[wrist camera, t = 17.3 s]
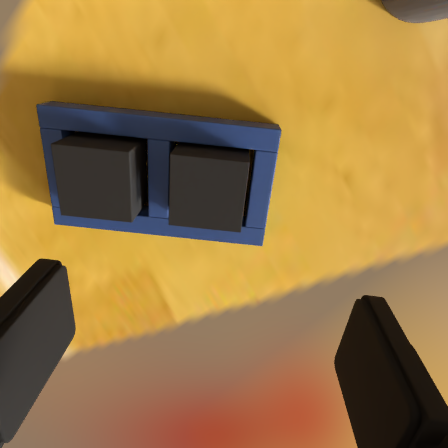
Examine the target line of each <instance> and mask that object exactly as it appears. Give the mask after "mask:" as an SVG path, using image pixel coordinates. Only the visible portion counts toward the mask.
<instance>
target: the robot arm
mask: <svg viewBox="0 0 448 448" xmlns="http://www.w3.org/2000/svg"><path fill="white" fill-rule="evenodd" d="M75 329H76V328H75V320H74V314H73V307H72V301H71V294H70V288H69V281H68V275H67V269H66V267H65V266H62V264H61V262H60V261H58V260H50V259H39V260H37V261H36V262H35V263H34V264H33V265H32V266H31V267H30V268H29V269H28V270H27V271H26V272H25V273H24V274H23V275H22V276H21V277H20V278H19V279H18V280H17V281H16V282H15V283H14V284H13V285H12V286H11V287H10V288H9V289H8V290H7V291H6V292H5V293H4V294H3V295H2V296H1V297H0V448H2V446H3V444H4V443H8V442H10V441H11V440H12V439H13V437H14V435H15V434H16V432H17V431H18V429H19V427H20V426H21V424H22V422H23V420H24V419H25V417H26V416H27V414H28V412H29V411H30V409H31V407H32V406H33V404H34V402H35V401H36V399H37V397H38V396H39V394H40V392H41V391H42V389H43V387H44V385H45V384H46V382H47V381H48V379H49V377H50V376H51V374H52V372H53V371H54V369H55V367H56V366H57V364H58V362H59V361H60V359H61V357H62V356H63V354H64V352H65V351H66V349H67V347H68V346H69V344H70V342H71V341H72V339H73V337H74V334H75ZM334 364H335V370H336V373H337V377H338V380H339V384H340V387H341V391H342V394H343V398H344V401H345V405H346V408H347V412H348V415H349V419H350V422H351V426H352V429H353V433H354V436H355V440H356V443H357V446H358V448H448V406H447V404H446V403H445V401H444V399H443V397H442V396H441V394H440V392H439V390H438V389H437V387H436V386H435V383H434V382H433V380H432V378H431V377H430V375H429V373H428V371H427V370H426V368H425V366H424V364H423V363H422V361H421V359H420V357H419V356H418V354H417V352H416V351H415V349H414V348H413V346H412V345H411V344H410V342H409V341H408V339H407V337H406V335H405V334H404V332H403V330H402V329H401V327H400V325H399V323H398V321H397V320H396V318H395V316H394V315H393V312H392V311H391V309H390V307H389V305H388V304H387V302H386V300H385V299H384V298H383V297H376V296H368V295H364V296H363V297H362V298H361V299H357V300H356V301H355V304H354V306H353V309H352V312H351V314H350V317H349V320H348V323H347V326H346V328H345V331H344V334H343V336H342V339H341V342H340V345H339V347H338V350H337V353H336V356H335V362H334Z"/></svg>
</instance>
